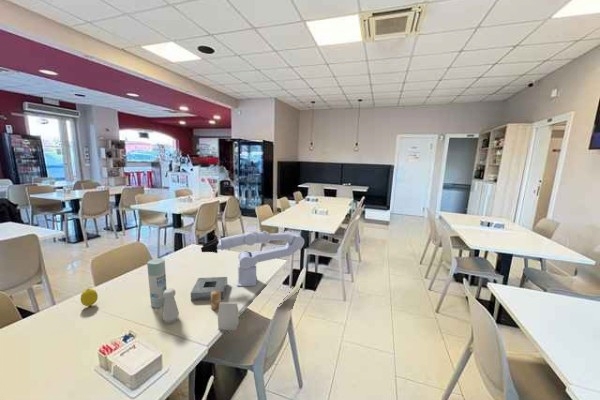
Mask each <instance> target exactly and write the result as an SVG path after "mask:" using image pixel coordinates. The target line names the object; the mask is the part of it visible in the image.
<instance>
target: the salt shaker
mask: <svg viewBox="0 0 600 400" xmlns="http://www.w3.org/2000/svg"><path fill="white" fill-rule="evenodd" d="M166 289H167V290H165V291H164V292H163V297H164V298H165V301H164V306H163V310H162V320H163V321H164V322H165V323H166V324H173V323H175V322H176V321H177V320H178V318H179V315H180V311H179V308H178V305H177V302H176V299H175V296H176V290H175V289H174V288H166Z"/></svg>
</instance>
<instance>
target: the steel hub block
mask: <svg viewBox="0 0 600 400" xmlns="http://www.w3.org/2000/svg"><path fill="white" fill-rule="evenodd" d="M227 288H228V276H217V277H216V276H213V277H198V278H197V280H196V281H195V284H194V286H193V288H192V289H191V292H190V301H191V302H199V301H202V302H203V301H211V292H212V291H215V290H218V291H220V292H221V301H222V300H224V298H225V295H226V291H227Z"/></svg>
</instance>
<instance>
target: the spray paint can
mask: <svg viewBox="0 0 600 400" xmlns="http://www.w3.org/2000/svg"><path fill="white" fill-rule="evenodd" d="M165 261H166V260H165V259H164V258H162V257H161V258H160V257H158V258H153V259H152V258H151V259H150V260H148V261H147V263H146V264H147V274H148V277H147V278H148V286H149V297H150V306H151V308H153V309H159V308H160V309H161V308H164V301H165V298H164V297H163V292H164V291H165V290H167V289H168V288H167V274H166V262H165Z"/></svg>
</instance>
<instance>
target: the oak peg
mask: <svg viewBox="0 0 600 400" xmlns="http://www.w3.org/2000/svg"><path fill="white" fill-rule="evenodd" d="M220 302H221V303H222V300H221V292H220V291H218V290H215V291H212V292H211V300H210V309H211V310H212V311H218V310H219V303H220Z"/></svg>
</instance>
